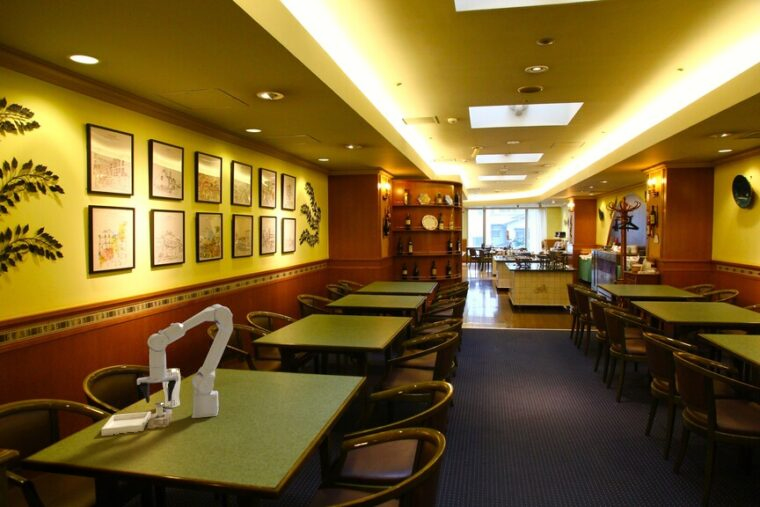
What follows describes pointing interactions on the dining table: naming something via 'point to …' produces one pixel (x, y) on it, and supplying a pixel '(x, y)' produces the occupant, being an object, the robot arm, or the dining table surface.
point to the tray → (126, 423)
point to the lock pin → (159, 409)
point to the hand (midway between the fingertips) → (159, 401)
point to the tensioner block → (160, 419)
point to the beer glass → (175, 393)
